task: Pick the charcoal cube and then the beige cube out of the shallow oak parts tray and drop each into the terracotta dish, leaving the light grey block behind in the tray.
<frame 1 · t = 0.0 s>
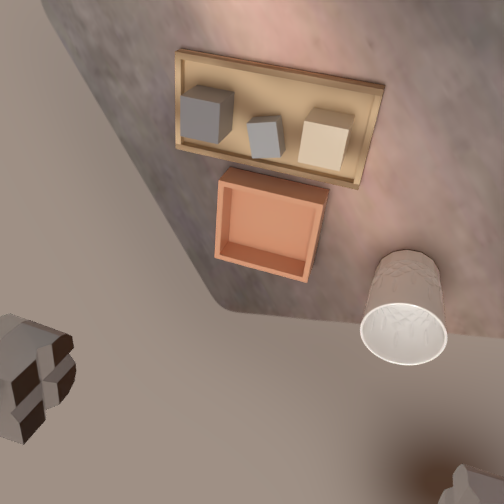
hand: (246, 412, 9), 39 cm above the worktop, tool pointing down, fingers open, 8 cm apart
white cup: (407, 273, 52), on the worktop
terracotta dish: (273, 217, 53), on the worktop
light grey block: (269, 133, 47), resting on oak tray
charcoal cube: (214, 107, 47), resting on oak tray
beige cube: (329, 131, 45), resting on oak tray
oak tray: (272, 117, 47), on the worktop
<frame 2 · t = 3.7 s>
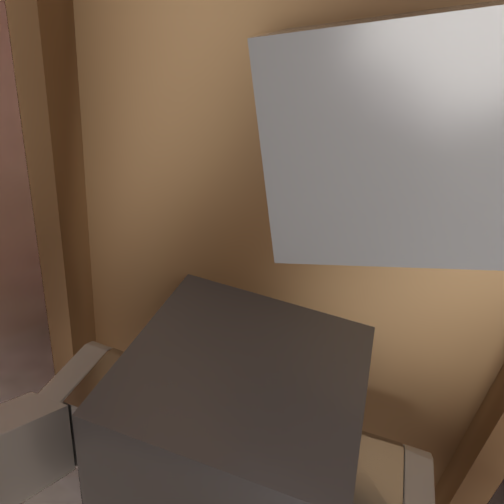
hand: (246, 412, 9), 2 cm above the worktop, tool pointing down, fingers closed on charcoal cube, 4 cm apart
light grey block: (409, 119, 7), resting on oak tray
charcoal cube: (264, 369, 11), resting on oak tray, touching gripper
oak tray: (320, 96, 8), on the worktop
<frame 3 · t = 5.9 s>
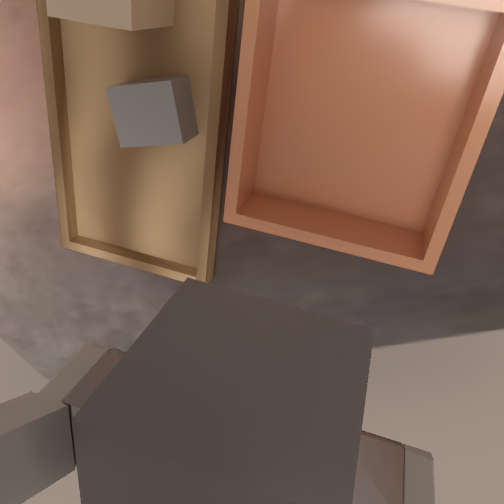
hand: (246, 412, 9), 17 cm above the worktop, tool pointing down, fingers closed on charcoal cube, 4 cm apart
terracotta dish: (358, 113, 22), on the worktop
light grey block: (162, 107, 24), resting on oak tray
charcoal cube: (263, 372, 11), point 15 cm above the worktop, touching gripper
oak tray: (141, 100, 25), on the worktop
when the fingers open (6 cm above the worktop, at t = 8.2 s): charcoal cube drops 4 cm, resting on terracotta dish.
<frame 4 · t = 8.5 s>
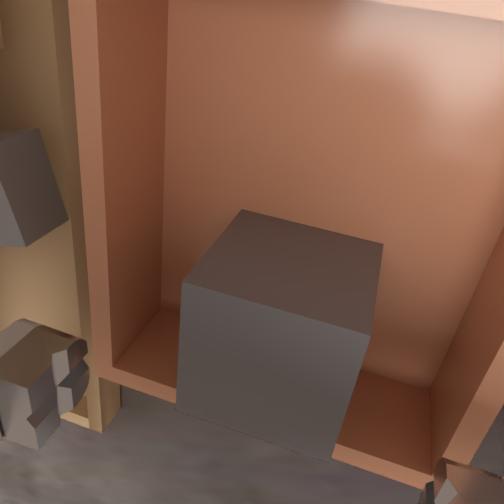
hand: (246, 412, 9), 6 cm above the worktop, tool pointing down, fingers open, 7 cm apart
terracotta dish: (319, 201, 13), on the worktop
light grey block: (10, 177, 15), resting on oak tray
charcoal cube: (298, 285, 14), resting on terracotta dish
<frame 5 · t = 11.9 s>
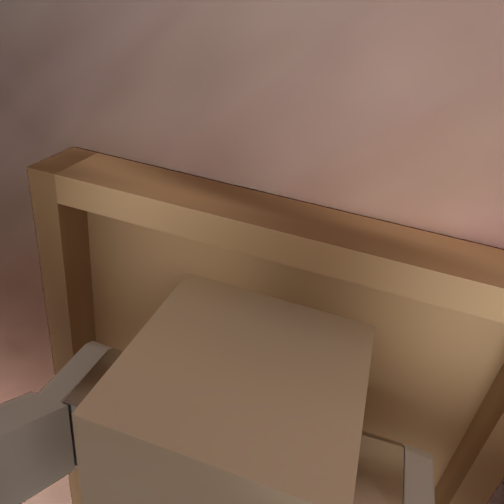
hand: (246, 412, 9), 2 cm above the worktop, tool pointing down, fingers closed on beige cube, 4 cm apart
beige cube: (264, 368, 11), resting on oak tray, touching gripper
oak tray: (242, 500, 14), on the worktop
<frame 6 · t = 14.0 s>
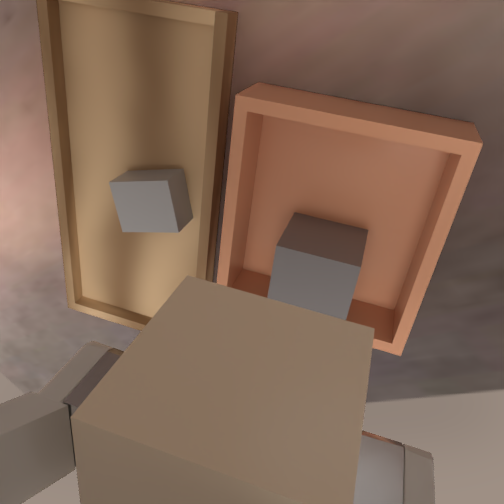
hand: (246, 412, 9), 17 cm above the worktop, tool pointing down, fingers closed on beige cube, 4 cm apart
terracotta dish: (335, 208, 25), on the worktop
light grey block: (160, 194, 27), resting on oak tray
charcoal cube: (323, 252, 26), resting on terracotta dish
beige cube: (264, 371, 11), point 15 cm above the worktop, touching gripper
oak tray: (141, 185, 28), on the worktop
when the fingers open (6 cm above the worktop, at t = 16.3 s): beige cube drops 4 cm, resting on terracotta dish.
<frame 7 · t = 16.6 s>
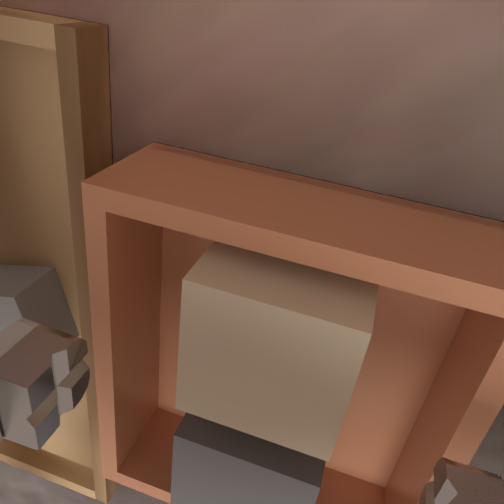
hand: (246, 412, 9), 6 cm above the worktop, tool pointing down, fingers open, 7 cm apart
terracotta dish: (290, 337, 15), on the worktop
light grey block: (29, 299, 18), resting on oak tray
charcoal cube: (273, 400, 16), resting on terracotta dish
beige cube: (298, 283, 14), resting on terracotta dish
oak tray: (5, 282, 18), on the worktop
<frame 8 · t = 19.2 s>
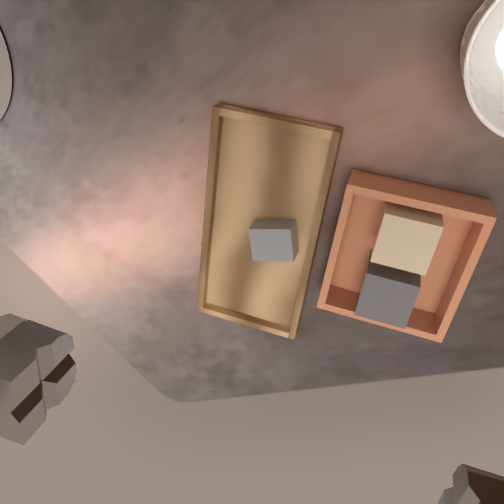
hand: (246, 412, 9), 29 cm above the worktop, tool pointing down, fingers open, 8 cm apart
terracotta dish: (398, 246, 38), on the worktop
light grey block: (277, 235, 40), resting on oak tray
charcoal cube: (388, 275, 39), resting on terracotta dish
beige cube: (406, 222, 36), resting on terracotta dish
oak tray: (262, 228, 41), on the worktop
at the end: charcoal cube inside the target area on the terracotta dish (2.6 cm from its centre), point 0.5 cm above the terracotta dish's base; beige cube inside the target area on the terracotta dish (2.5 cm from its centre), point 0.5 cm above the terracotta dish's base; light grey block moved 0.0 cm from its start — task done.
